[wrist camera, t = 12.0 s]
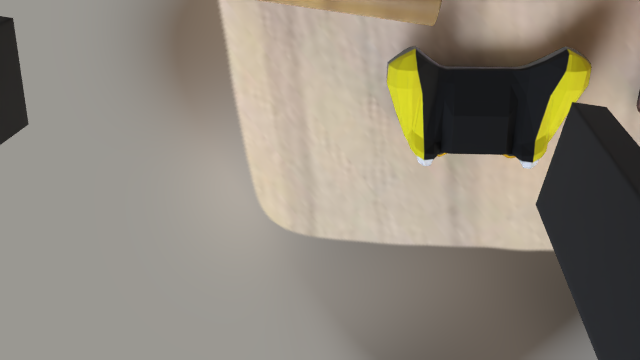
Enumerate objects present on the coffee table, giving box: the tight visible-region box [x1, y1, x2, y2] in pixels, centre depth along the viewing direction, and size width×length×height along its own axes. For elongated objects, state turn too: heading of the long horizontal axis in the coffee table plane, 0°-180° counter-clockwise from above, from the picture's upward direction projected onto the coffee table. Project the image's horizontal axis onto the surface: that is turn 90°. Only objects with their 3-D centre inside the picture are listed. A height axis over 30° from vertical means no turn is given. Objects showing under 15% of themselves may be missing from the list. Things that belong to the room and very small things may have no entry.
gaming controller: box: [387, 46, 592, 169], centre depth 46 cm, size 15×6×10 cm
